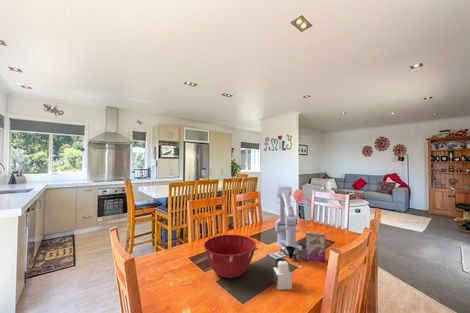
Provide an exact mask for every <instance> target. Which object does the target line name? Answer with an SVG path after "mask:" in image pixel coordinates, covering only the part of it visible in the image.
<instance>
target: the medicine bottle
mask: <svg viewBox="0 0 470 313" xmlns="http://www.w3.org/2000/svg"><path fill="white" fill-rule="evenodd" d="M289 264H290V263H289V260H288V259H285V258H282V259H277V260H275V267H274V266H273V267H272V269H273V274H272V276H273V277H272V279H273V284H274V286H275V287H276V290H277V291H282V290H293V274H292V272H291V271H290V270H289V268H290V266H289Z"/></svg>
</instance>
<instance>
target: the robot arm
mask: <svg viewBox="0 0 470 313" xmlns="http://www.w3.org/2000/svg"><path fill="white" fill-rule="evenodd" d="M292 190H293V189H292V186H290V185H289V186H288V185H287V186H286V185H285V186H283V185H282V186H280V185H277V186H276V197H278V198H279V199H278V201H279V202H278V203H279V204H278V205H279V214H278V215H279V219H277V220H275V225H274V227H275V229H274V230H275V232H276V233H277V237H276V238H277V242H276V243H274V244H275V245H276V246H278V247H280V248H282V246H287V247H286V249H287V251H288V254H289V255H288V259H290V260H292V259H294V258H293V253H294V252H295V250H296V249H297V250H298V251H303V245H300V244H299V243H297V232H296V231H297V229H296V228H297V226H298V219H297V218H298V217H297V216H296V214H295V212H294V211H295V210H294V207H293V205H291V201H290V199H291V196H292V195H293V194H292V193H293V191H292Z"/></svg>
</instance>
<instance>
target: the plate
mask: <svg viewBox="0 0 470 313" xmlns="http://www.w3.org/2000/svg"><path fill="white" fill-rule="evenodd" d="M275 252H276V251H275ZM275 252H271V253H268V254H266V256H267V257H269V258H270V259H272V260H274V261H276V260H277V259H275V258H273V257H271V256H270V255H269V254H272V253H275ZM287 257H288V258H289V255H286V256H285V257H282V258H278V259H285V258H287Z"/></svg>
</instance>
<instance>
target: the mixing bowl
mask: <svg viewBox="0 0 470 313" xmlns="http://www.w3.org/2000/svg"><path fill="white" fill-rule="evenodd" d="M203 248H204V249H205V250H204V251H205V254H206V255H205V256H206V257H207V260H208V263H209V265H210V267H211V269H212V270H213V272H214V273H215V274H216V275H218V276H219V277H221V278H225V279H234V278H238V277H240V276H242V275H243V274H245V272H246V271H247V270H248V268H249V266H250V264H251V261H252V259H253V257H254V253H255V249H256V248H257V243H256V241H255V240H254V239H252V238H250V237H248V236H245V235H239V234H222V235H217V236H213V237H210V238H209V239H207V240H205V241H204V243H203Z"/></svg>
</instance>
